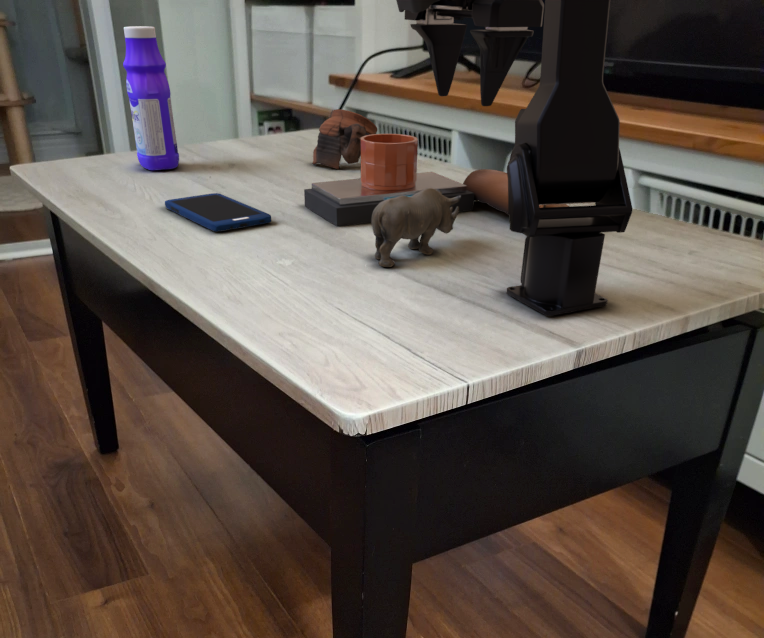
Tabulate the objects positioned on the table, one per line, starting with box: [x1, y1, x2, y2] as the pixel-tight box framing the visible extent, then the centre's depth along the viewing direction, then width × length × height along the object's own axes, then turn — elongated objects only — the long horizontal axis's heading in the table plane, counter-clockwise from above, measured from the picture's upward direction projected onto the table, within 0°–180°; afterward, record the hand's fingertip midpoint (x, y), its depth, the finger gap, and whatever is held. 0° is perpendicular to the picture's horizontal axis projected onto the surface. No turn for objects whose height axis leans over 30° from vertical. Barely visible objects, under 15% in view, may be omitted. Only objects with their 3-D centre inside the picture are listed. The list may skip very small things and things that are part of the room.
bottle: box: [122, 25, 180, 171], centre depth 106 cm, size 7×6×17 cm
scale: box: [303, 171, 475, 227], centre depth 92 cm, size 10×18×3 cm, turn 116°
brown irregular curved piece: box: [312, 108, 378, 170], centre depth 113 cm, size 12×10×8 cm
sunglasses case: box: [462, 168, 570, 216], centre depth 89 cm, size 18×7×7 cm
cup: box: [360, 133, 419, 191], centre depth 90 cm, size 7×7×5 cm
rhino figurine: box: [371, 188, 461, 268], centre depth 77 cm, size 4×14×6 cm, turn 139°
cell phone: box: [164, 192, 272, 233], centre depth 89 cm, size 7×14×1 cm, turn 37°
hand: (463, 100), depth 85 cm, fingers open, 9 cm apart
